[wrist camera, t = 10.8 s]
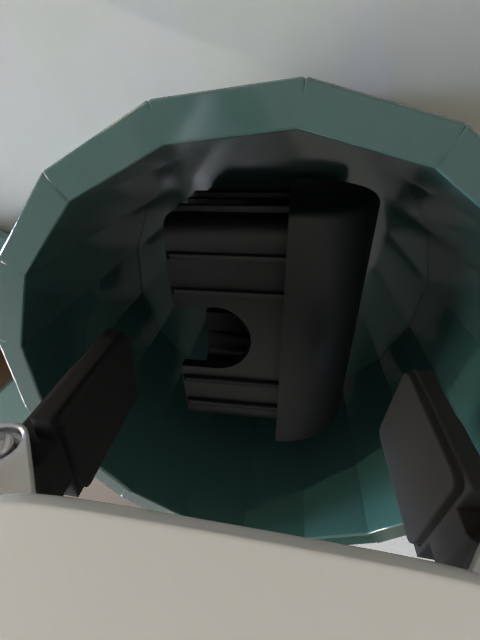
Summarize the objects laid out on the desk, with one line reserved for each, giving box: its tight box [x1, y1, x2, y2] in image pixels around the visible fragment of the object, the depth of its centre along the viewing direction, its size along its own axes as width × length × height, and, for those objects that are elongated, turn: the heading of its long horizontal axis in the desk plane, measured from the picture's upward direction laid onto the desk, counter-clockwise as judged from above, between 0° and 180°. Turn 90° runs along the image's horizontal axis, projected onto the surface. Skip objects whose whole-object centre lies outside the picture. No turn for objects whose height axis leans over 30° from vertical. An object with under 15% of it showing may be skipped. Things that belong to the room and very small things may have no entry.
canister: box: [0, 77, 480, 545], centre depth 14 cm, size 17×17×10 cm
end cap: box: [163, 178, 380, 442], centre depth 15 cm, size 10×7×7 cm
